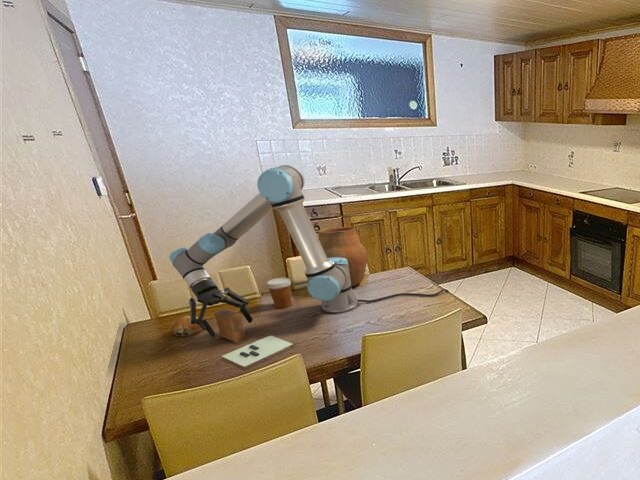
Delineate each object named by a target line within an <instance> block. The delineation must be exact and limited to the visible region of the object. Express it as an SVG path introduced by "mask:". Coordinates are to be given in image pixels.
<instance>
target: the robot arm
mask: <svg viewBox="0 0 640 480" xmlns="http://www.w3.org/2000/svg"><path fill="white" fill-rule="evenodd" d="M256 185H257V190H258V193H257V194H256V195H255V196H254V197H253V198H252V199H251V200H250V201H248V202H247V203H246V204H245V205H244V206H243V207H242V208H240V209H239V210H238V211H237V212H236V213H234V215H233V216H231V218H229V219H228V220H227V221H225V222H224V223H223V224H222V225H221V226H220V227H219V228H217V229H216V230H215V231H213V233H212V232H208V233H205V234H204V235H202V236H201V237H199V239H198V240H197V241H195V242H194V243H193V244H192V245H191V246H190V247H180V248H177V249H176V250H173V251H172V252H171V253H170V254H169V257H168V258H169V261H170V262H171V264H172V266H173V268H175V270H176V271H177V272H178V274H179V275H180V276H181V277H182V279H183V281H184V282H185V283H186V285H187V286H188V288H189V289H190V290H191V292H192V293H193V295H194V296H195V298H194V297H190V298H189V299H188V305H189V306H190V316H191V324H196V323H197V325H200V327H201V328H202V329H203V330H202V331H206V332H207V333H208V335H209V336H210V337H211V338H214V337H215V336H216V332H215V330H214V329H213V328H212V326H211V325H210V323H209V322H208V321H207V319H206V318H205V319H204V316H205V314H206V311H207V308H208V306H209V307H211V306H214V305H218V304H220V303H222V304H226V305H229V306H232V307H235V308H239V311H240V313H241V314H242V315H243V317H244V318H245V319H246V321H247V322H248V323H249V324H251V323H252V322H253V321H254V319H253V317H252V315H250V314H251V311H250V309H249V308H248V307H247V306H249V303H250V300H249V299H247V298H246V297H245V298H244V297H243V296H241V295H239V294H238V293H236V292H234V291H232V289H231V288H230V287H229V286H226V287H225V288H224V289H222V290H221V289H220V288H218V286H217V284H216V282H215V281H214V280H213V279H212V277H211V276H210V275H209V273H208V271H207V270H206V269H205V268H204V265H206V263H208V262H209V261H210V260H211V259H213V258H214V257H215V256H217V255H218V254H220V253H222V252H223V251H225V250H227V249H229V248H231V247H233V246H234V245H235V244H236V243H237V241H238V240H240V238H241V237H242V236H243V235H245V234H246V233H247V232H248V231H250V229H252V228H253V227H254V226H255V225H256V224H258V223H259V222H260V221H261V220H262V219H263V218H264V217H266V216H267V215H268V214H269V213H270V212H271V211H273V210H276V211H278V212H279V214H280V216H281V218H282V220H283V222H284V224H285V226H286V228H287V230H288V232H289V234H290V235H289V236H290V237H291V239H292V241H293V243H294V245H295V248H296V249H297V251H298V253H299V256H300V258H301V260H302V262H303V263H304V266H305V270H304V276H305V278H306V280H307V292H308V293H309V295H310V296H311V297H312V298H314V300H317V301H321V310H322V311H323V312H324V313H327V314H341V313H347V312H350V311H353V310H354V309H356V308H357V307H358V306H359V303H374V302H379V301H382V300H385V299H390V298H394V297H398V296H421V297H435V296H437V295H439V294H441V293H443V292H447V293H449V292H450V290H448V289H445V288H444V289H441V290H439V291H437V292H436V293H435V292H434V293H430V294H427V293H416V292H415V293H413V292H402V293H401V292H400V293H395V294H391V295H387V296H382V297H379V298H375V299H370V300H369V299H368V300H367V299H358V297H357V295H356V294H355V292H354V290H353V288H352V287H353V286H351V280H350V273H349V266H348V265H349V264H348V261H347V259H346V258H342V257H332V258H327V256H326V254H325V252H324V250H323V247H322V245H321V243H320V241H319V236H318V235H317V234H318V233H316V230H315V228H314V226H313V223H312V221H311V220H310V217H309V214H308V213H307V210H306V208H305V206H304V201H305V195H304V193H303V191H302V190H303V189H304V186H305V178H304V174H302V172H301V171H300V170H299V169H298V168H297V167H295V166H292V165H289V164H282V165H279V166H275V167H270V168H268V169H266V170H265V171H263V172H262V173H261V174H260V175H259V177H258V179H257V183H256ZM444 290H445V291H444ZM198 303H200V304H202V307H201V309H200V313H199V314H198V317H197V304H198ZM196 317H197V318H198V319H196Z"/></svg>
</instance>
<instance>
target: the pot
mask: <svg viewBox="0 0 640 480" xmlns="http://www.w3.org/2000/svg"><path fill="white" fill-rule="evenodd" d="M317 234H318V239H319V241H320V243H321V245H322V247H323V250H324V252H325V254H326V256H327V258H332V257H342V258H346V259H347V261H348V264H349V265H348V266H349V273H350V280H351V287H355V286H357V285H359V284H360V283H362V282H363V280H364V278H365V274H366V270H367V269H366V268H367V266H368V265H367V264H368V250H367V249H366V247H365V246H364V245H363V244H362V242H361V241H362V240H363V236H362V235H361V234H358V233H357V229H356V227H353V226H339V227H331V228H326V229H321V230H318V231H317Z"/></svg>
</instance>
